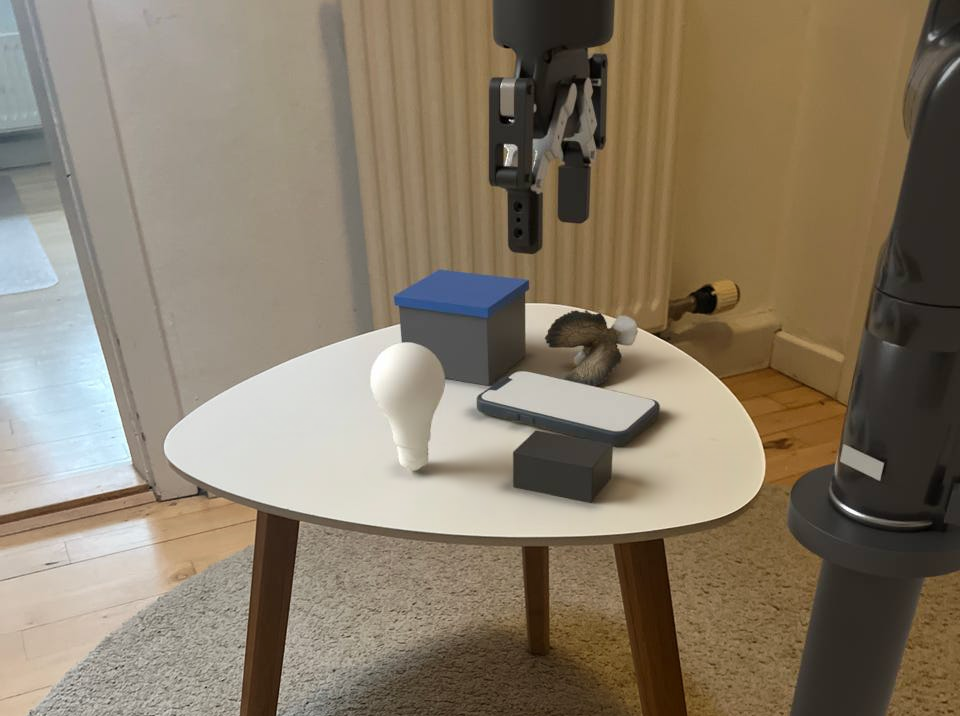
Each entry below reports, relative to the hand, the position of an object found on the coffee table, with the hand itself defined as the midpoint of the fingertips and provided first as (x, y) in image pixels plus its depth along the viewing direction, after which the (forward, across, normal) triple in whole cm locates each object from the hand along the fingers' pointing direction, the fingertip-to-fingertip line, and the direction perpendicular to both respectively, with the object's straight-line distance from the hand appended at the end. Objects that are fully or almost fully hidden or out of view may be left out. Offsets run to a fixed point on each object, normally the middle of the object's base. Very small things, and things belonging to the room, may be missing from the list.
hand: (550, 236), depth 69 cm
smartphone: (+20, +16, +5) cm, 26 cm away
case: (+20, +2, 0) cm, 20 cm away
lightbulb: (+20, 0, +12) cm, 24 cm away
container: (+20, +24, +20) cm, 37 cm away
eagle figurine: (+20, +26, +6) cm, 34 cm away
